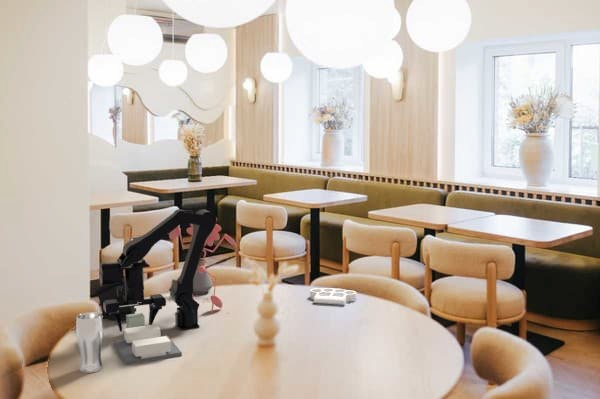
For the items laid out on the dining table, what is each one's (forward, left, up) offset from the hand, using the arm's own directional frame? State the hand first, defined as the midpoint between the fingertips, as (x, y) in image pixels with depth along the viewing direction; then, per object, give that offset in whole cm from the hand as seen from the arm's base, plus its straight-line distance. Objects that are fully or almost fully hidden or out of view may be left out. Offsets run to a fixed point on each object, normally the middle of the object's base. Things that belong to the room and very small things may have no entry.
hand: (135, 329), depth 200 cm
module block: (0, 0, -1) cm, 1 cm away
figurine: (-29, -18, -2) cm, 34 cm away
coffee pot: (-37, -38, -2) cm, 53 cm away
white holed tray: (-76, -7, -2) cm, 76 cm away
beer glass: (+17, +24, -2) cm, 29 cm away
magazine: (+3, -18, -2) cm, 18 cm away
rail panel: (0, +16, -1) cm, 16 cm away
